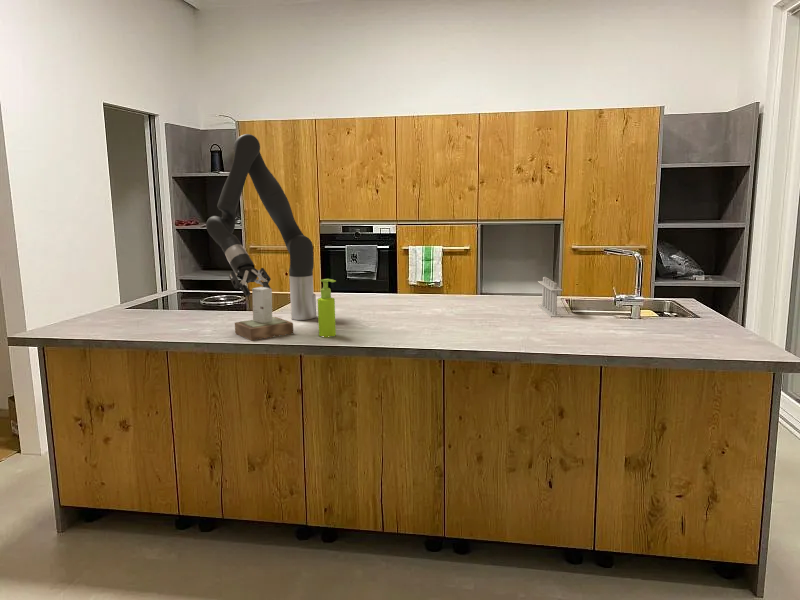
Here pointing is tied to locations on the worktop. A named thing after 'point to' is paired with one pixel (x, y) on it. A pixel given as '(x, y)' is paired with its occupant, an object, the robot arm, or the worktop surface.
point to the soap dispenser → (326, 311)
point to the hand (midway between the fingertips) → (259, 293)
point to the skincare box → (262, 304)
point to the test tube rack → (549, 297)
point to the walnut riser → (263, 328)
